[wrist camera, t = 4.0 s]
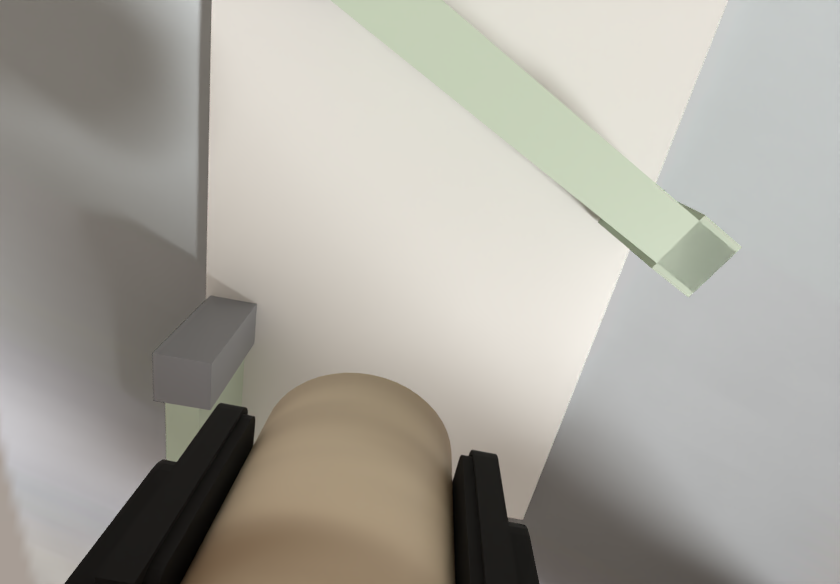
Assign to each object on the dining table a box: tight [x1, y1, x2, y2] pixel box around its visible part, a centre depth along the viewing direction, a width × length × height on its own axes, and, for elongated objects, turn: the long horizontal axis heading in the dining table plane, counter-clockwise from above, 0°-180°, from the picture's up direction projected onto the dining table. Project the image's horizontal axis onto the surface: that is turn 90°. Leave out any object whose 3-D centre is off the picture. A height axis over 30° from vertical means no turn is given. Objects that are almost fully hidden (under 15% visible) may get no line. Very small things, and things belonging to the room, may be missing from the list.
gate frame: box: [152, 0, 728, 520], centre depth 18 cm, size 27×17×5 cm, turn 169°
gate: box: [331, 0, 742, 297], centre depth 15 cm, size 14×2×5 cm, turn 54°
